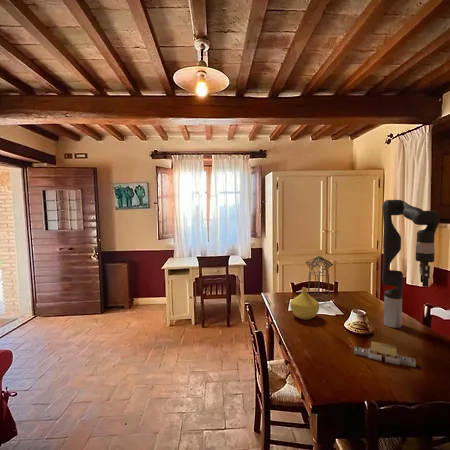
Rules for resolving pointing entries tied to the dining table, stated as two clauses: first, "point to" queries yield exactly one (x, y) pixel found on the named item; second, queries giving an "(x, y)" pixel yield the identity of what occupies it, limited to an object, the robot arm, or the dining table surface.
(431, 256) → the robot arm
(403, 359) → the chain ends
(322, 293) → the geometric lantern
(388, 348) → the master link
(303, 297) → the vase
